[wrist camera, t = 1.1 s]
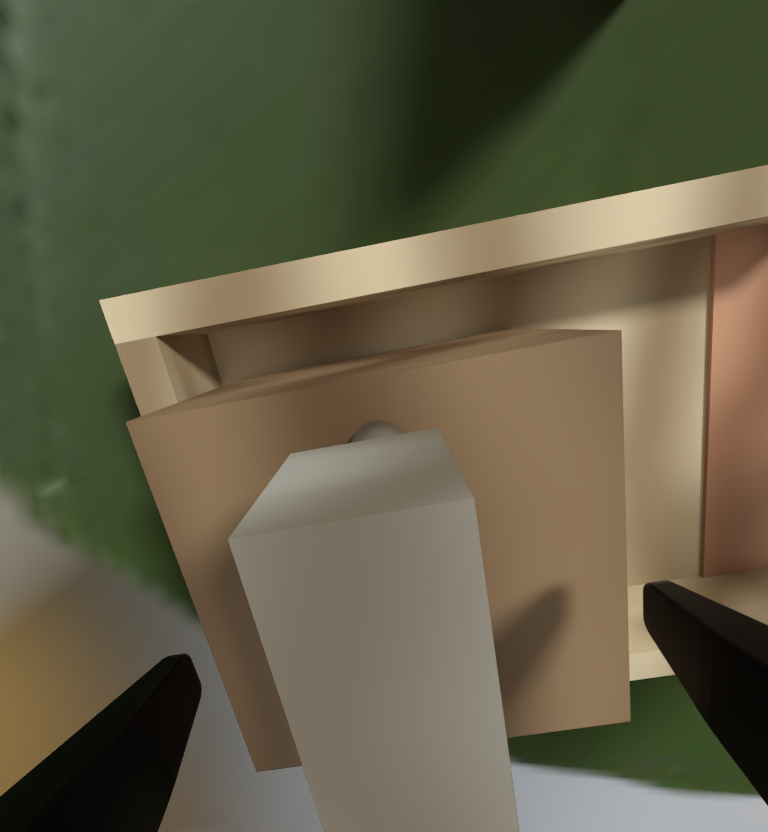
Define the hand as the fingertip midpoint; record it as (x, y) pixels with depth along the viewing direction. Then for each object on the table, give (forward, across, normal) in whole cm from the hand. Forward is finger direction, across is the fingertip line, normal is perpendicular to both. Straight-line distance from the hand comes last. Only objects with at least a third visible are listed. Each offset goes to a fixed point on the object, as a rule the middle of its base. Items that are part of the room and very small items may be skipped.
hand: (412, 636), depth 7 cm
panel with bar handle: (+7, 0, 0) cm, 7 cm away
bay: (+8, -4, 0) cm, 9 cm away
